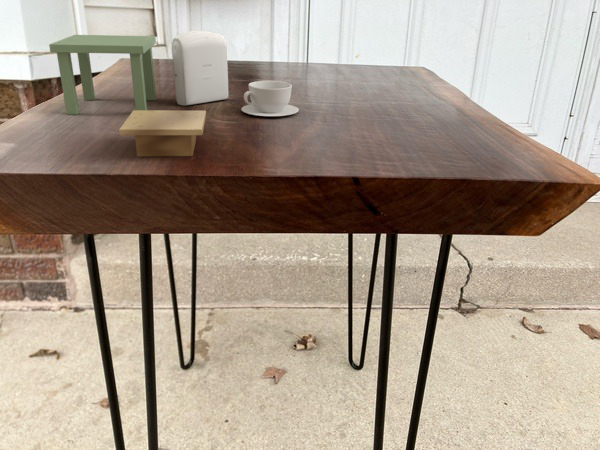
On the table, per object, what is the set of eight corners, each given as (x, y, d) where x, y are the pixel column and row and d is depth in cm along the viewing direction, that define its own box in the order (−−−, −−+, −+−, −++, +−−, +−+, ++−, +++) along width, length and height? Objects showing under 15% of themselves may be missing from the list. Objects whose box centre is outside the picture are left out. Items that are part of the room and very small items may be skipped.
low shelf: (122, 160, 66) (118, 129, 64) (136, 138, 75) (133, 110, 73) (203, 160, 67) (202, 129, 65) (207, 138, 76) (206, 110, 74)
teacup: (278, 103, 98) (278, 77, 96) (310, 114, 91) (311, 87, 89) (230, 109, 93) (229, 82, 91) (260, 121, 85) (260, 92, 83)
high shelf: (60, 115, 85) (48, 44, 80) (83, 97, 98) (74, 34, 93) (149, 115, 87) (143, 45, 82) (160, 97, 99) (155, 36, 95)
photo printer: (184, 107, 93) (179, 33, 88) (172, 103, 96) (166, 30, 90) (232, 100, 99) (230, 30, 94) (219, 96, 102) (216, 28, 97)
